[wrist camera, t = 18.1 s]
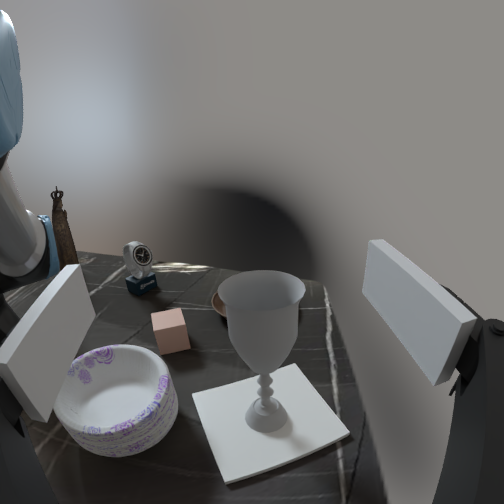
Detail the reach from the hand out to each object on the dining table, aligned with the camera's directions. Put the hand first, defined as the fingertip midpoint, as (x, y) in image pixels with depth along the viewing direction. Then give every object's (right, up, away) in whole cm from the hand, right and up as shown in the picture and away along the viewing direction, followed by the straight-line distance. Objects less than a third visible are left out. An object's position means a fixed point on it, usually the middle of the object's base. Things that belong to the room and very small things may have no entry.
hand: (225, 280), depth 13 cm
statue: (-51, -4, +62) cm, 81 cm away
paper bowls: (-15, -21, +18) cm, 31 cm away
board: (+3, -19, +19) cm, 27 cm away
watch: (-24, -7, +52) cm, 58 cm away
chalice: (+3, -19, +19) cm, 27 cm away
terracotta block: (-12, -14, +34) cm, 39 cm away
